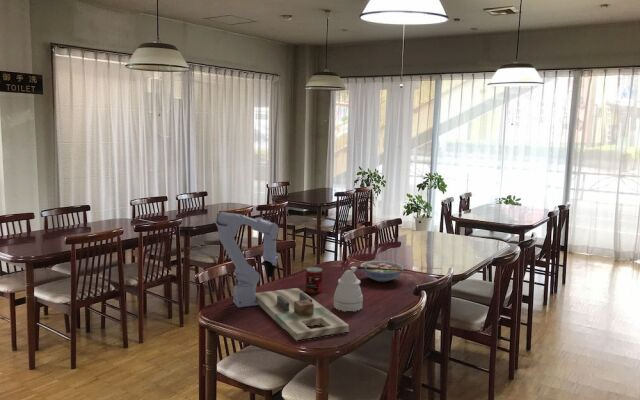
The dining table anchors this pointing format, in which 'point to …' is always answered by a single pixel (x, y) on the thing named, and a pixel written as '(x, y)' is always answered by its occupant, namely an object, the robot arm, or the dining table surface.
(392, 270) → the ramen bowl
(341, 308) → the white santa figurine
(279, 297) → the board
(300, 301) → the walnut block
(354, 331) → the dining table surface
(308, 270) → the canned food
